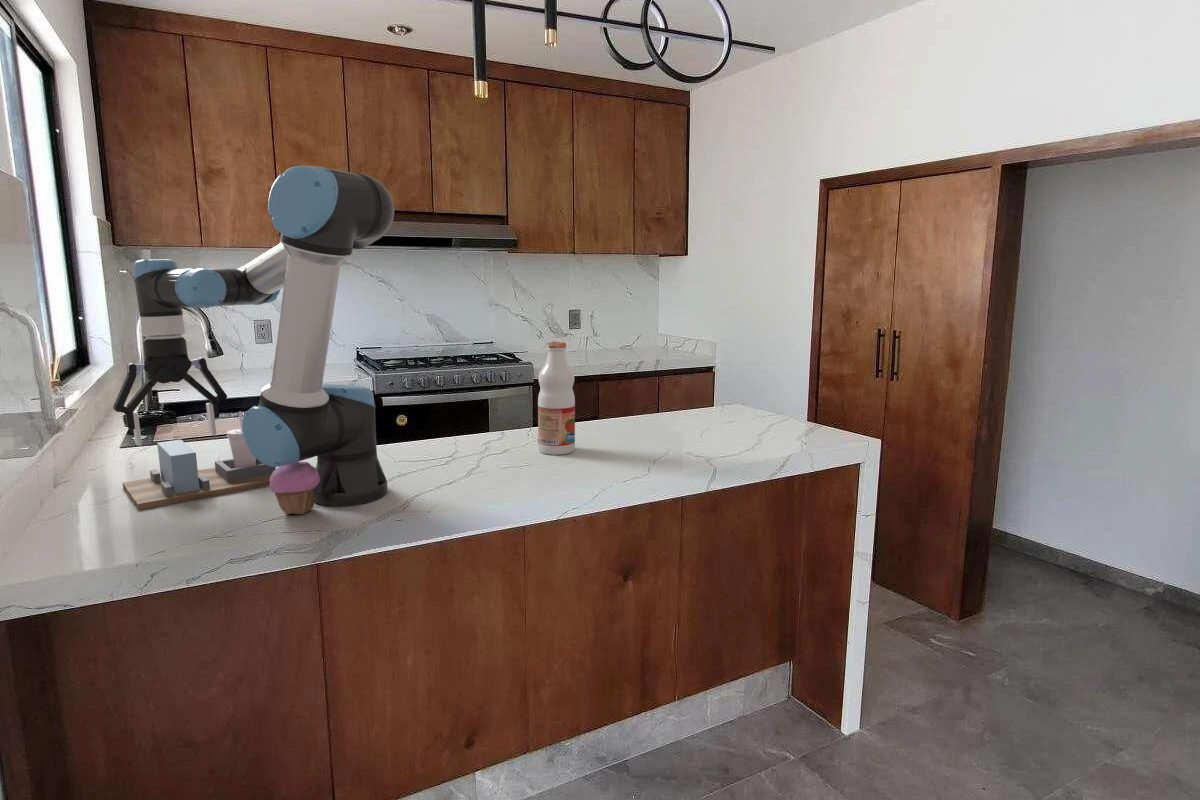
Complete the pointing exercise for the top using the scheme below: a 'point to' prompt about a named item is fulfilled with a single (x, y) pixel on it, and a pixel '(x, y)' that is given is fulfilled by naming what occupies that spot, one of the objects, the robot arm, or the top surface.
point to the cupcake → (295, 487)
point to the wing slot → (167, 487)
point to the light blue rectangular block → (178, 466)
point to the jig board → (151, 493)
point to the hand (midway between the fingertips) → (176, 439)
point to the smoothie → (240, 447)
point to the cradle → (241, 470)
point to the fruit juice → (556, 403)
